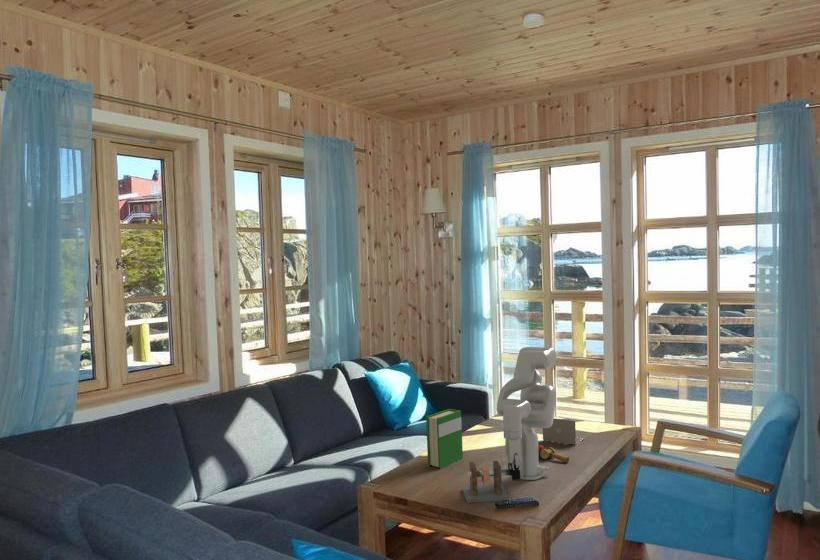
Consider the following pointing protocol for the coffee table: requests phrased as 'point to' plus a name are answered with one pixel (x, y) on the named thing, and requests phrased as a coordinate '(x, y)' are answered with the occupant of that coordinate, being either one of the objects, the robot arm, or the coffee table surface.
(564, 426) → the laptop
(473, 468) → the stand
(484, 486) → the base board
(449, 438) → the hardback book
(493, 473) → the shaft
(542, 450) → the kendama
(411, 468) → the coffee table surface
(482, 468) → the collar
